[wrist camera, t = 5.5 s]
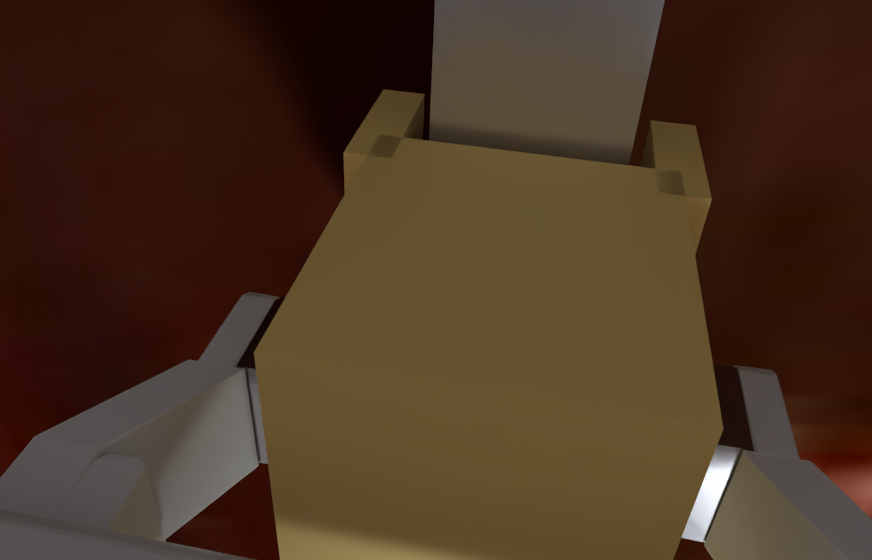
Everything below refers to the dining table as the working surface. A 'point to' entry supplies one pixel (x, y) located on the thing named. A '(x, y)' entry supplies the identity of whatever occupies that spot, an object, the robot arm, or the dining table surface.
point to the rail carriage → (493, 355)
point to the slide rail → (542, 75)
